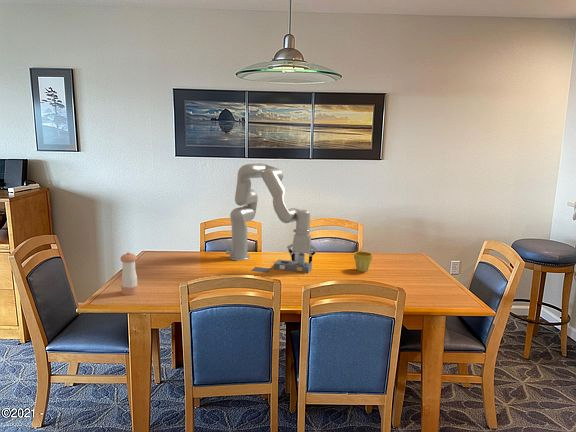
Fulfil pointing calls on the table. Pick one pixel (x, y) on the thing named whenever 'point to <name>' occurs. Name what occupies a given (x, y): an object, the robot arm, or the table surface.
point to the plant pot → (362, 260)
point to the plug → (301, 259)
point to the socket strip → (292, 266)
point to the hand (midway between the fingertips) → (301, 261)
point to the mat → (261, 269)
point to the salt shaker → (129, 274)
